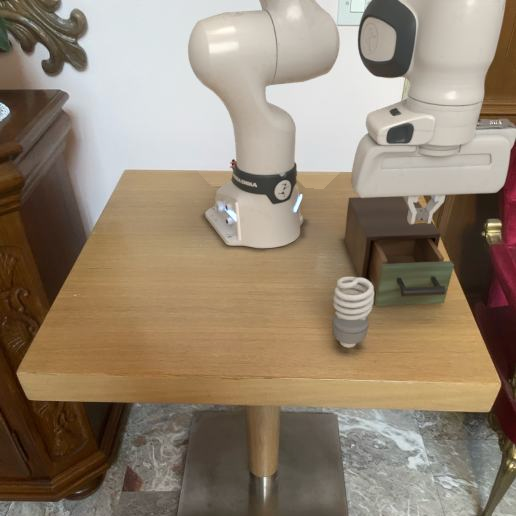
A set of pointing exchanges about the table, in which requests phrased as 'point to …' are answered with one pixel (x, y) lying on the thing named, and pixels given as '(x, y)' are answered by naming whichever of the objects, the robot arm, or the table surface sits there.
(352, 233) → the cabinet
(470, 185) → the robot arm
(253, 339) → the table surface
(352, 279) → the light bulb
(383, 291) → the drawer
